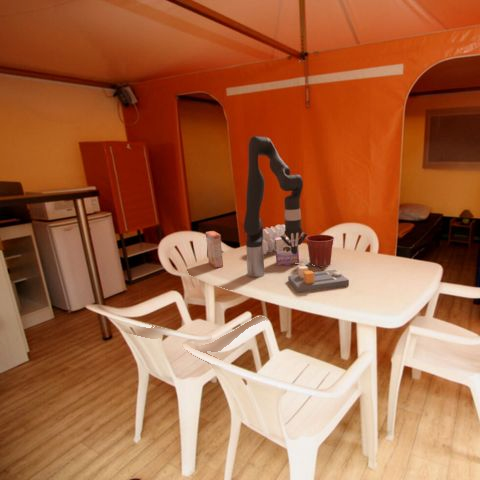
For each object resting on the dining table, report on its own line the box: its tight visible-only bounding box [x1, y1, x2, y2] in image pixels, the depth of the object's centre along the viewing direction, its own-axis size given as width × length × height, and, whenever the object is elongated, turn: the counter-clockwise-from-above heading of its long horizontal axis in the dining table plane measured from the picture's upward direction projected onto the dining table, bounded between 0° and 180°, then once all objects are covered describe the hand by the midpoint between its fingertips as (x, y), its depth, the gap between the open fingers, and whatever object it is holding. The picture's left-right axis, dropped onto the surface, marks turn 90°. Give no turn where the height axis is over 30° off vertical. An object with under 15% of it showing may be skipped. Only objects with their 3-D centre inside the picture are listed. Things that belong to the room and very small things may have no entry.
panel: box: [287, 269, 350, 294], centre depth 167 cm, size 26×16×4 cm, turn 99°
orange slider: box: [303, 270, 314, 284], centre depth 162 cm, size 4×4×5 cm
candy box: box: [275, 236, 300, 266], centre depth 200 cm, size 14×6×16 cm, turn 84°
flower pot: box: [305, 234, 335, 268], centre depth 194 cm, size 16×16×16 cm
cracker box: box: [205, 230, 224, 269], centre depth 208 cm, size 14×6×21 cm, turn 22°
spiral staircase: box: [263, 224, 285, 255], centre depth 227 cm, size 18×18×25 cm
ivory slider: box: [297, 265, 309, 278], centre depth 169 cm, size 4×4×5 cm
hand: (294, 253), depth 157 cm, fingers closed
